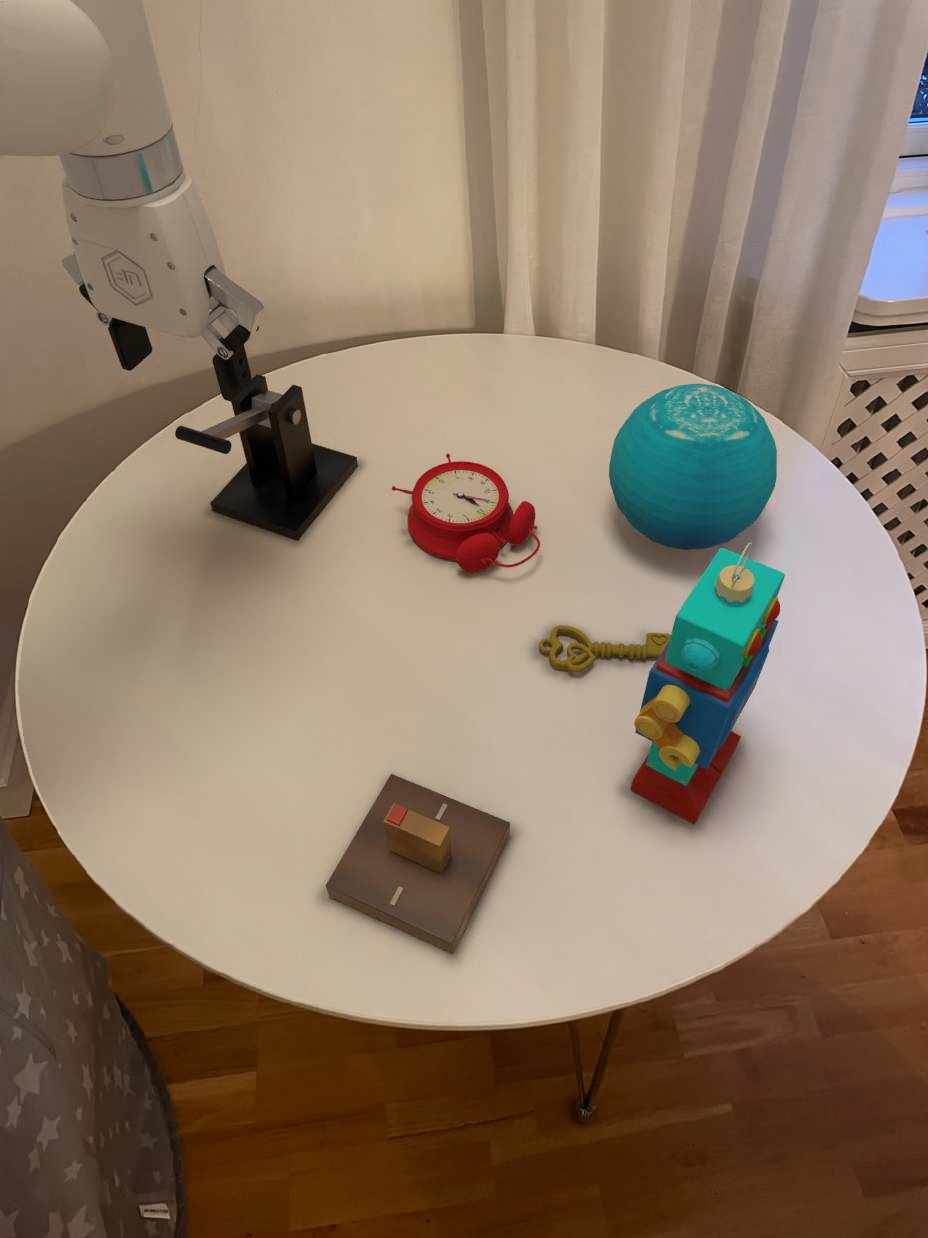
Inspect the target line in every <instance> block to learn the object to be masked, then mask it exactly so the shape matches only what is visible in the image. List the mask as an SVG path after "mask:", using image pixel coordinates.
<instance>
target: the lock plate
mask: <svg viewBox="0 0 928 1238" xmlns="http://www.w3.org/2000/svg"><path fill="white" fill-rule="evenodd" d="M394 803H395V804H397V805H400V806H402V807H404V808H407V809H409V810H411V811H414V812H416V813H418V814H421V815H423V816H425V817H428V818H430V819H432V820H434V821H437V822H439V823H441V824H444V825H446V826H448V827H450V839H451V858H450V860H449V862H448V864H447V866H446V868H445V869H444V871H443V873H442V874H441V873H438V872H436V871H434V870H432V869H429V868H427V867H425V866H423V865H421V864H418V863H416V862H414V861H412V860H409V859H407V858H405V857H403V856H401V855H398V854H396V853H394V852H392V851H389V850H388V845H387V840H386V834H385V828H384V822H383V821H384V819H385V817H386V816H387V814H388V812H389V810H390V809H391V807H392V805H393V804H394ZM510 833H511V822H510V821H508V820H505V819H502V818H500V817H497V816H496V815H493V814H490V813H488V812H486V811H483V810H482V809H481V810H480V809H478V808H476V807H474V806H471V805H469V804H466V803H464V802H461V801H459V800H457V799H454V798H451V797H449V796H446V795H444V794H441V793H439V792H437V791H434V790H432V789H430V788H427V787H425V786H422V785H420V784H417V783H415V782H412V781H410V780H409V779H406V778H403V777H401V776H398V775H396V774H393V773H390V775H389V777H388V778H387V780H386V782H385V784H384V785H383V787H382V788H381V790H380V791H379V793H378V795H377V797H376V799H375V800H374V802H373V804H372V805H371V807H370V809H369V811H368V812H367V815H366V816H365V817H364V819H363V821H362V822H361V824H360V826H359V828H358V829H357V831H356V833H355V835H354V836H353V838H352V839H351V841H350V843H349V845H348V847H347V848H346V850H345V852H344V853H343V855H342V857H341V859H340V860H339V862H338V863H337V865H336V867H335V868H334V870H333V872H332V874H331V875H330V877H329V879H328V881H327V882H326V884H325V888H326V892H327V894H328V897H329V898H330V899H333V900H335V901H337V902H339V903H341V904H343V905H346V906H347V907H350V908H352V909H353V910H354V909H355V910H356V911H358V912H360V913H363V914H365V915H367V916H369V917H371V918H373V919H376V920H378V921H380V922H383V923H384V924H386V925H388V926H391V927H393V928H396V929H397V930H399V931H402V932H404V933H406V934H408V935H410V936H412V937H415V938H417V939H419V940H421V941H423V942H425V943H428V944H429V945H432V946H434V947H435V948H439V949H440V950H442V951H445V952H447V953H448V954H451V955H453V954H454V953H455V952H456V949H457V947H458V945H459V943H460V941H461V938H462V937H463V935H464V933H465V930H466V929H467V926H468V924H469V922H470V919H471V917H472V916H473V913H474V912H475V909H476V907H477V905H478V903H479V901H480V899H481V896H482V894H483V892H484V890H485V888H486V886H487V883H488V882H489V879H490V878H491V876H492V873H493V871H494V869H495V867H496V865H497V863H498V861H499V858H500V856H501V854H502V852H503V849H504V848H505V846H506V843H507V841H508V839H509V837H510V835H511V834H510Z"/></svg>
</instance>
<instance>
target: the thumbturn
mask: <svg viewBox="0 0 928 1238" xmlns="http://www.w3.org/2000/svg"><path fill="white" fill-rule="evenodd" d="M383 822H384V828H385V834H386V840H387V845H388V850H389V851H392V852H394V853H396V854H398V855H401V856H403V857H405V858H407V859H409V860H412V861H414V862H416V863H418V864H421V865H423V866H425V867H427V868H429V869H432V870H434V871H436V872H438V873H441V874H442V873H443V871H444V869H445V868H446V866H447V864H448V862H449V860H450V858H451V839H450V827H448V826H446V825H444V824H441V823H439V822H437V821H434V820H432V819H430V818H428V817H425V816H423V815H421V814H418V813H416V812H414V811H411V810H409V809H407V808H404V807H402V806H400V805H397V804H395V803H394V804H393V805H392V807H391V809H390V810H389V812H388V814H387V816H386V817H385V819H384V821H383Z"/></svg>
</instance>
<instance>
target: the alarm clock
mask: <svg viewBox="0 0 928 1238" xmlns="http://www.w3.org/2000/svg"><path fill="white" fill-rule="evenodd" d="M450 457H451V454H450V453H446V454H445V458H447V461H448V462H444V463H441V464H438V465H435V466H433V467H431V468H430V469H428V470H426V471H424V473H423V474H421V475H420V476H419V478H417V480H416V482H415V484H414V486H413V489H412V490H409V489H402V488H398V487H396V486H395V485H393V486H392V487H391V491H392V492H395V491H398V492H401V493H403V494H408V495H411V505H410V507H409V509H408V513H407V518H406V519H407V529H408V532H409V534H410V536H411V538H412V540H413V541H414V542H415V543H416V544H417V546H419V547H420V548H421V549H423V550H424V551H426V552H428V553H429V554H432V555H433V556H436V557H440V558H444V559H448V560H455V561H456V563H457V565H458V566H459V568H461V570H463V571H464V572H468V573H476V572H481V571H483V570H485V569H488V568H489V567H490V566H492V565H493V564H494V565H495V566H499V567H502V568H514V567H518V566H520V565H523V564H524V563H526V562H528V561H529V560H531V558H533V557H534V556H535V555H536V554H537V553H538V551H539V550H540V548H541V542H540V539H539V537H538V536H537V534H535V533H534V531H533V530H537V529H538V526H537V525H535V521H536V509H535V506H534V505H533V504H532V503H531V502H530V501H527V500H523V501H521V503H519V505H518V506H517V507H516V509H515V511H513V508H512V505H511V504H510V502H509V501H510V494H509V490H508V487H507V484H506V482H505V480H504V479H503V478H502V476H501V475H500V474H499V473H498V472H497V471H495V470H494V469H492V468H490V467H489V466H486V465H484V464H481V463H478V462H473V461H465V460H463V461H462V460H460V461H459V460H458V461H457V460H456V461H452V460H451V458H450ZM530 535H531V536H532V537H533V538H534V539H535V541H536V543H537V544H536V548H535V550H534V551H533V552H532V553H531V554H529V556H527V557H525V558H524V559H522V560H521V561H517V562H515V563H511V564H504V563H500V562H497V559H498V557H499V553H500V548H501V547H502V546H504V545H505V544H507V543H509V544H510V545H514V546H520V545H522V544H523V543H525V542H526V541H527V540H528V538H529V537H530Z"/></svg>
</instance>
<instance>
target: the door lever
mask: <svg viewBox="0 0 928 1238" xmlns="http://www.w3.org/2000/svg"><path fill="white" fill-rule="evenodd" d="M283 394H284V393H279V392H275V391H273V390H269V389H268V391H266V392H264V393H262V394H259V395H257V396H255V397H252V409H250V410H248V411H245V412H243V413H241V414H239V415H237V416H235V415H234V416H232V417H230V418H228V419H226V420H223V421H220V422H219V423H217V424H214V425H212V426H210V427H207V428H206V429H203V430H201V431H200V430H197V429H194V428H190V427H187V426H184V425H178V426H177V427H176V429H175V431H174V435H175V438H176V440H180V441H183V442H185V443H189V444H192V445H194V446H199V447H201V448H205V449H208V450H210V451H214V452H217V453H220V454H224V455H228V454H229V453H231V450H232V442H231V441H230V440H228V438H231V437H232V436H234V435H237V434H239V432H241V431H243V430H245V429H247V428H249V427H251V426H253V425H255V424H259V425H263V426H266V427H269V428H271V425H270V420H269V416H268V410H269V409H270V408H271V407H272V406H273V405H274V404H275V403H276V402H277V401H278V400H279V399H280V398H281V396H282V395H283Z"/></svg>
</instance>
